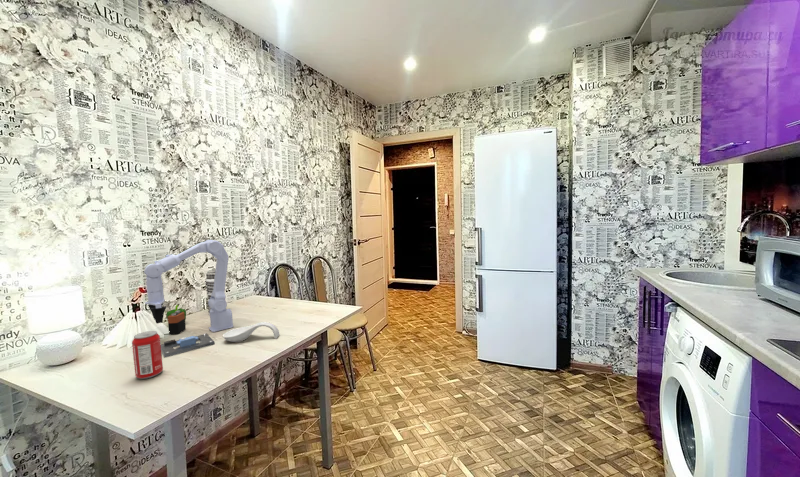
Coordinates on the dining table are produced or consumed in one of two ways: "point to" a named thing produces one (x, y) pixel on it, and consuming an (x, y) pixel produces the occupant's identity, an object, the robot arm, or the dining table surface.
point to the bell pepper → (176, 310)
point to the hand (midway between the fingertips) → (158, 320)
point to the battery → (176, 322)
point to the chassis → (169, 350)
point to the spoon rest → (248, 332)
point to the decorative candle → (210, 284)
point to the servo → (187, 341)
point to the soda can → (147, 354)
